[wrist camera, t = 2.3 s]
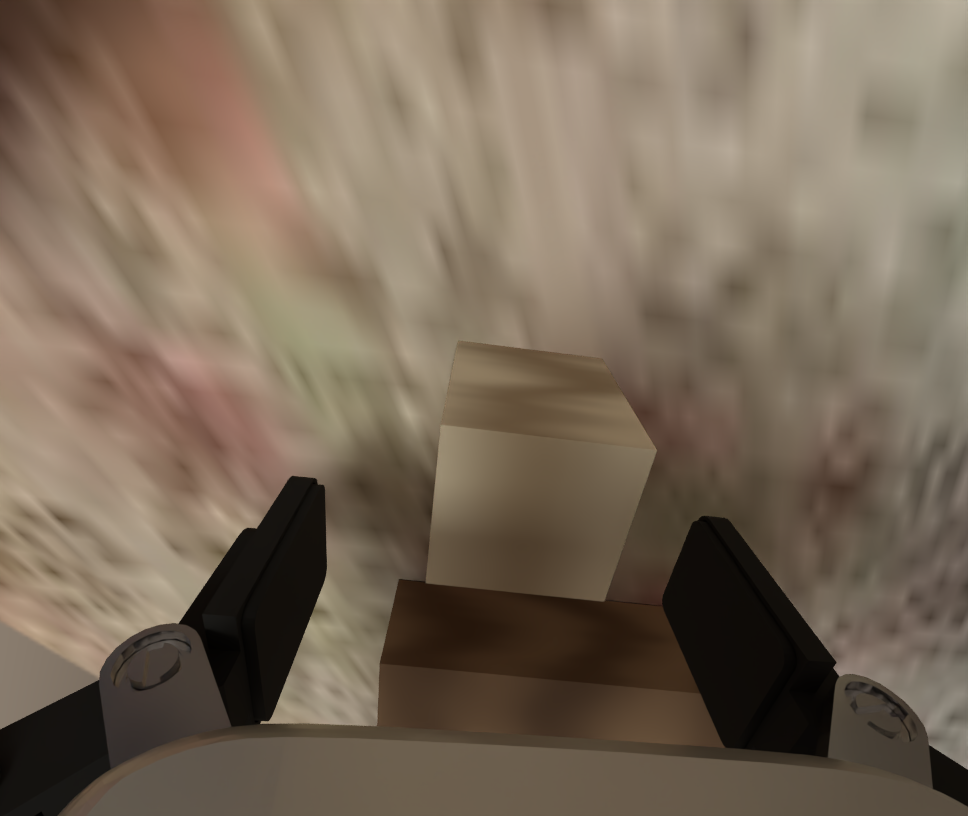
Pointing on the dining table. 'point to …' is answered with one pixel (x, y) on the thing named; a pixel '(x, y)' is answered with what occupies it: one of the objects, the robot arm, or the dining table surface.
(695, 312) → the dining table surface
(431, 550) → the maple block
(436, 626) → the walnut base
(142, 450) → the dining table surface
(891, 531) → the dining table surface
